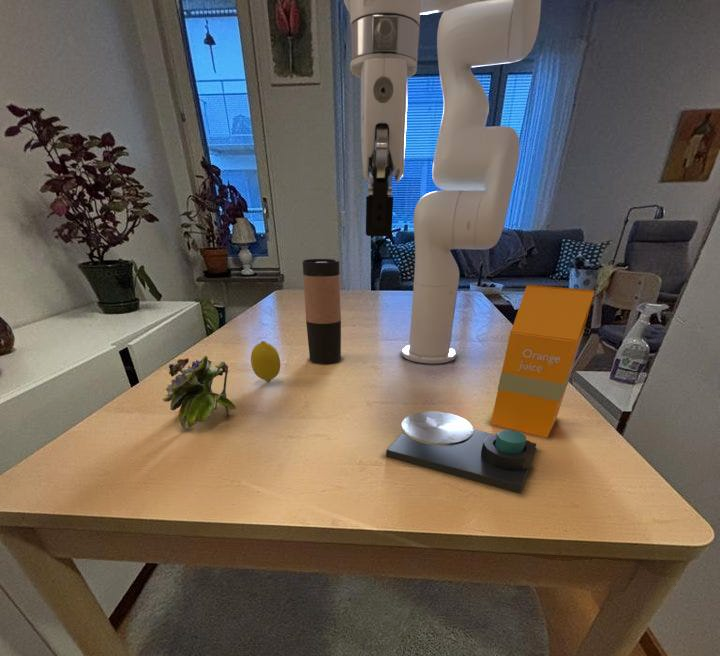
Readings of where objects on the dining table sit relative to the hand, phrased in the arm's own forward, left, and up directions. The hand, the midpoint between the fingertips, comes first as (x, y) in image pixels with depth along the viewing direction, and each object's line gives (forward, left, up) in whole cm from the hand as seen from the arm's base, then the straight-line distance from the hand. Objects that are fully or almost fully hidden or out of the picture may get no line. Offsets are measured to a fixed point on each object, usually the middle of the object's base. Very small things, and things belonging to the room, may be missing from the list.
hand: (377, 234), depth 53 cm
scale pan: (+7, +13, -23) cm, 27 cm away
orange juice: (-8, +23, -26) cm, 36 cm away
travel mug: (-20, -23, -26) cm, 40 cm away
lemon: (-2, -25, -26) cm, 36 cm away
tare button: (+7, +24, -23) cm, 34 cm away
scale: (+7, +17, -26) cm, 32 cm away
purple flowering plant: (+15, -24, -26) cm, 38 cm away
